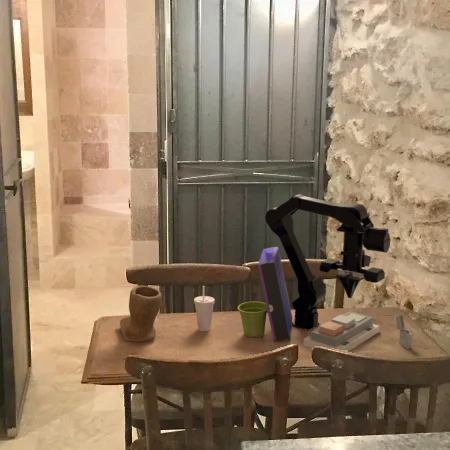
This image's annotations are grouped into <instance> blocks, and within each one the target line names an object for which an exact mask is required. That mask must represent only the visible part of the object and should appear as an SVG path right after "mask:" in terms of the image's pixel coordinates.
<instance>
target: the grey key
mask: <svg viewBox="0 0 450 450" xmlns="http://www.w3.org/2000/svg"><path fill="white" fill-rule="evenodd" d="M331 321H332V322H333V323H337V324H340V325H343V329H346V330H347V329H349V328H350V327H352V326H354V325H355V318H351V317H347V316H343V314H339V315H337V316H335V317H332V318H331Z"/></svg>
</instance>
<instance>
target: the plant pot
mask: <svg viewBox="0 0 450 450" xmlns="http://www.w3.org/2000/svg"><path fill="white" fill-rule="evenodd" d="M237 310H238V312H239V314H240V316H241V317H240V318H241V323H242V328H243V333H244V335H245V336H246V337H248V338H249V337H250V338H254V337H256V338H260V337H263V336H264V335H265V331H266V323H267V322H266V321H267V314H268V312H267V307H266V302H264V301H263V302H262V301H246V302H243V303H240V304H239V305H238V306H237Z"/></svg>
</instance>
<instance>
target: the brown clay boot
mask: <svg viewBox="0 0 450 450" xmlns="http://www.w3.org/2000/svg"><path fill="white" fill-rule="evenodd" d="M162 295H163V294H162V293H161V291H160V290H159V289H157V288H155V287H152V286H148V285H138V286H134V287H133V288H132V289H131V291H130V292H129V299H128V310H129V311H128V312H129V316H126V317H123V318H122V319H120V321H119V327H120V330H121V334H122V336H123V338H124V339H125V340H126V341H128V342H131V343H132V342H133V343H142V342H143V343H144V342H149V341H153V340H155V338H156V336H157V332H156V328H155V326H154V325H155V321H156V317H157V315H158V314H159V311H160V308H161V306H162V305H161V304H162Z"/></svg>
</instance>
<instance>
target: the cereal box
mask: <svg viewBox="0 0 450 450" xmlns="http://www.w3.org/2000/svg"><path fill="white" fill-rule="evenodd" d="M257 269H258V272H259V278H260V282H261V286H262V287H261V288H262V293H263V297H264V301H265V302H264V303H266V307H267V314H268V315H267V316H268V321H269V325H270V329H271V334H272V339H273V342H280V341H287V340H289V341H290V339H291V332H292V327H293V326H292V323H293V314H292V309H291V304H290V303H291V302H290V298H289V294H288V290H287V283H286V278H285V273H284V269H283V263H282V259H281V254H280V250H279V247H278V246H272V247H267V248H264V249H262V252H261V255H260V258H259V261H258V264H257Z"/></svg>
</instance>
